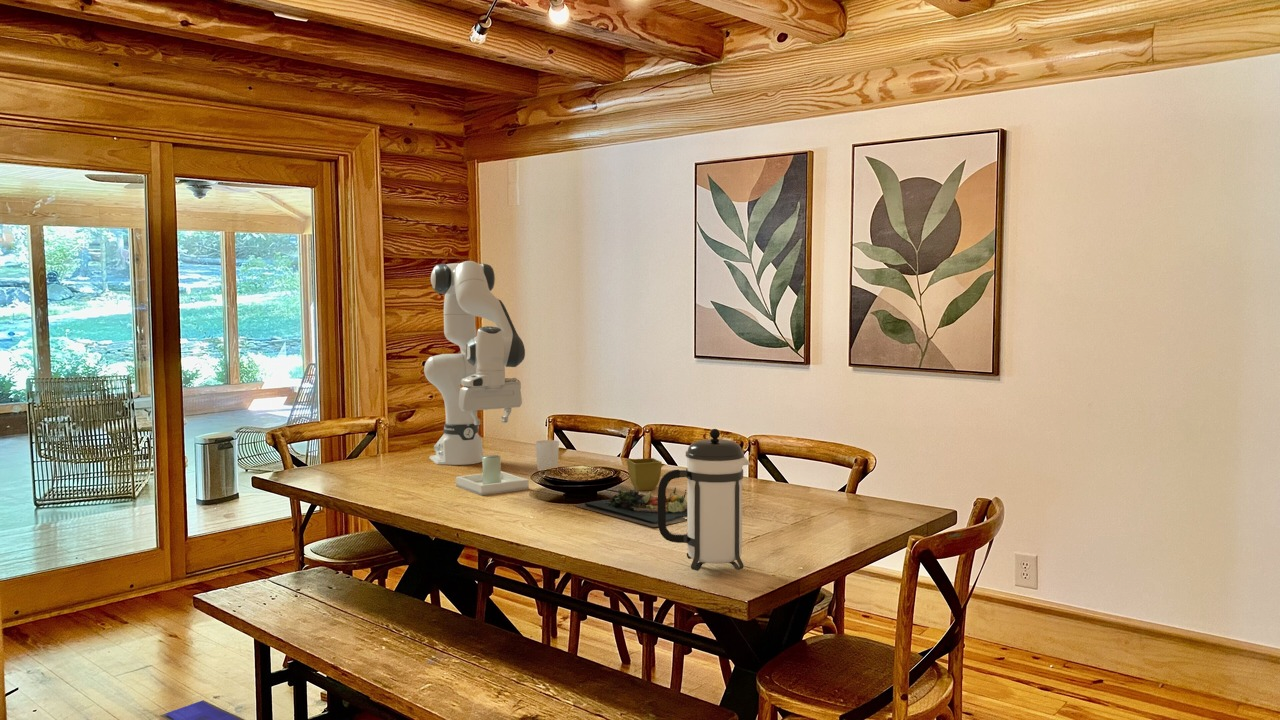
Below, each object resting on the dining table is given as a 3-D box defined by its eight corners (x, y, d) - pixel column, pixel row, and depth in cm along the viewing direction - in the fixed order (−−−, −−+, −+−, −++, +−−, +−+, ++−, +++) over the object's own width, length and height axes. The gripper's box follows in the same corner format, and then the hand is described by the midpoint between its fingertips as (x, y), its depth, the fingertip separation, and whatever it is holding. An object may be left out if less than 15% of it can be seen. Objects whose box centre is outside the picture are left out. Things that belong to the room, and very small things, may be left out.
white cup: (557, 472, 319) (557, 443, 319) (534, 472, 319) (534, 443, 319) (560, 468, 327) (559, 440, 326) (537, 468, 327) (537, 440, 327)
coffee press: (709, 550, 219) (709, 422, 217) (762, 564, 207) (763, 428, 205) (655, 564, 207) (655, 429, 205) (709, 580, 195) (709, 436, 194)
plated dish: (727, 513, 262) (727, 487, 261) (654, 529, 243) (654, 501, 242) (641, 494, 287) (641, 470, 287) (569, 508, 268) (569, 482, 268)
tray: (456, 486, 296) (456, 476, 296) (501, 480, 305) (501, 471, 305) (481, 495, 281) (481, 485, 281) (528, 489, 291) (528, 479, 290)
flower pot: (626, 487, 293) (626, 459, 293) (653, 485, 296) (653, 457, 295) (635, 493, 285) (635, 463, 284) (662, 491, 288) (662, 462, 287)
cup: (479, 484, 294) (479, 456, 293) (496, 482, 297) (495, 454, 297) (487, 487, 289) (487, 458, 289) (504, 485, 293) (503, 456, 292)
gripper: (515, 376, 300) (516, 419, 301) (456, 380, 288) (456, 425, 289) (525, 378, 295) (525, 422, 296) (465, 381, 283) (465, 427, 284)
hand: (491, 423), depth 292 cm, fingers open, 8 cm apart
